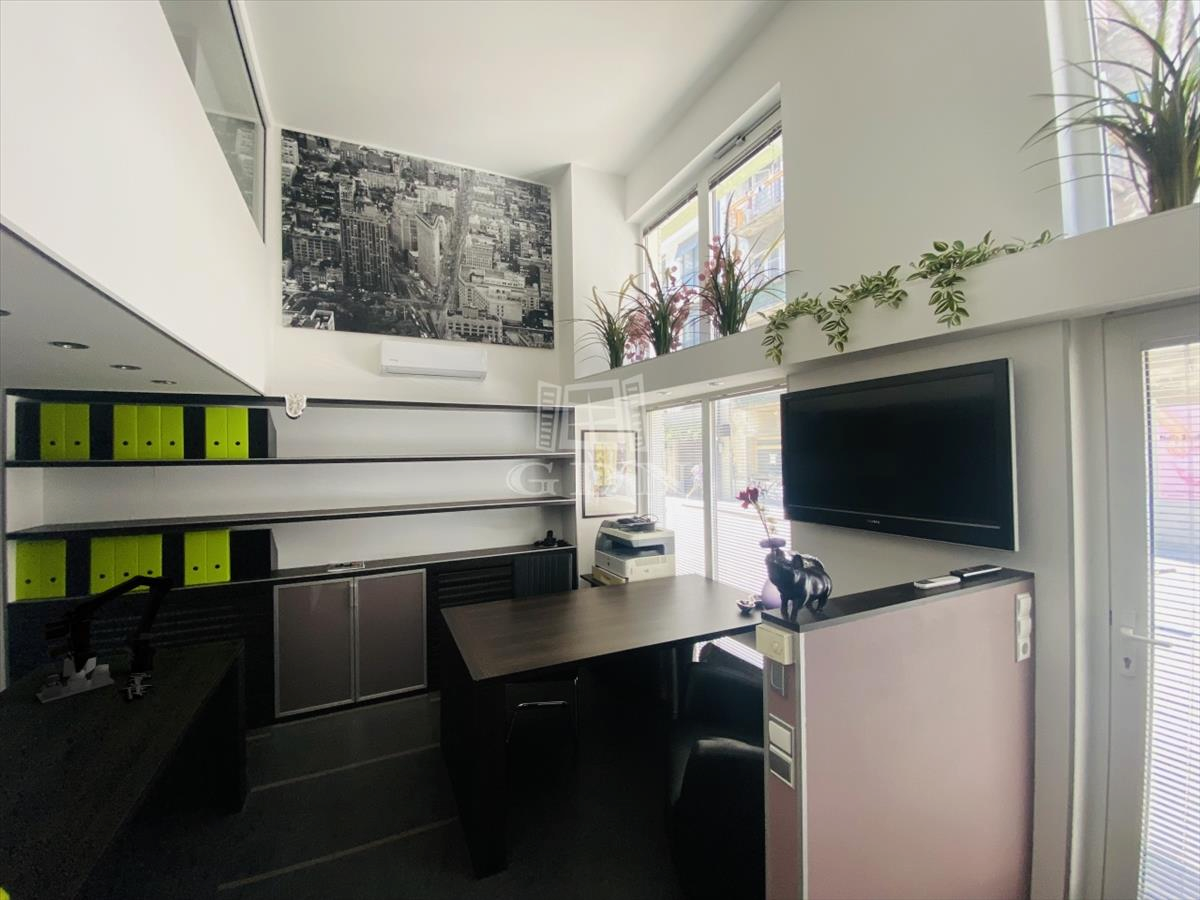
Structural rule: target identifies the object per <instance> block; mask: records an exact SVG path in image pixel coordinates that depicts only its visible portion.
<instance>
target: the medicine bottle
mask: <svg viewBox="0 0 1200 900" xmlns="http://www.w3.org/2000/svg"><path fill="white" fill-rule="evenodd" d="M90 644H91V645H92V646H93V644H92V642H90ZM87 649H91V648H87ZM96 661H97V657H95V658H91V659H89V660H88V661H87V662H86V664H85V666H84V667H83V669H82V670H85V675H87V674H88V673H90V672H91V671H93V670H94V667H96ZM62 672H63V673H62V677H63V678H65V677H66V678H67V677H70V674H71V673H73V672H75V669H74V665H73V662H72V660H70V659H69V658H67V657H66V658H65V659H64V660H63V670H62Z"/></svg>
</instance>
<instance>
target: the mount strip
mask: <svg viewBox="0 0 1200 900" xmlns="http://www.w3.org/2000/svg"><path fill="white" fill-rule="evenodd" d="M110 676H111V671H110V670H108V672H106V673H103V674H97V675H95V674H94V672H92V673H91V679H88V680H87V677H86V676H85V678H83V679H80V680H76V681H70V678H68V679H67V685H65V686H63V684H62V683H61V682H60V681H56V686H52V687H48V686H49V683H46V684H44V685H42V686H41V692H40V693H36V697H37V699H38V698H39V699H38V700H39V701H40V703H42V704H44V703H47V702H51V701H56V700H58V699H61V698H65V697H66V698H67V697H68V696H72V695H75V694H80V693H83V692H86V691H90V690H95V689H98V688H102V687H106V686H108V685H109V686H110V685H112V684H115V680H114V679H112V678H111V677H110Z"/></svg>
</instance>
